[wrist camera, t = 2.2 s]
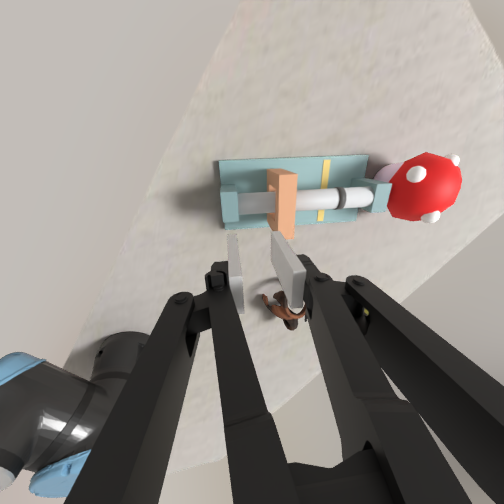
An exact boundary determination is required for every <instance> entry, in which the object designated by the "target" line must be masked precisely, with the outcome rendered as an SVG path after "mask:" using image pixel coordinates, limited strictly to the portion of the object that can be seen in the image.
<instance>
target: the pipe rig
mask: <svg viewBox="0 0 504 504" xmlns="http://www.w3.org/2000/svg"><path fill="white" fill-rule="evenodd" d="M368 156H369V155H345V156H320V157H294V158H268V159H243V160H219V169H220V180H221V189H220V197H221V207H222V217H223V222H224V223H225V230H232V229H246V228H261V227H270V226H269V224H268V222H267V213H275V196H276V191H275V192H267V169H279V168H281V169H284V170H287V171H290V172H293V173H296V174H298V179H297V195H296V211H295V225H305V224H319V223H334V222H348V221H356V218H357V213H358V208H361V209H364V210H366V211H368V212H370V213H376V212H385V211H386V207H387V203H388V199H389V195H390V191H391V187H392V183H388V182H383V181H378V180H373V179H368V178H364V177H365V172H366V167H367V161H368Z"/></svg>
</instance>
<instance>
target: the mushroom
mask: <svg viewBox="0 0 504 504" xmlns="http://www.w3.org/2000/svg"><path fill="white" fill-rule="evenodd" d="M458 163H459V157H458V156H457V155H453V154H450V155H447V156H445V157H441V156H438V155H434V154H431V153H428V152H425V153H423V154H421V155H418V156H416V157H414V158H412V159H409V160H407V161H405V162H402V163H396V164H390V165H387V166H385V167H383V168H382V169H381V170H379V171H378V172H377V174H376V175H375V177H374V178H373V180H378V181H383V182H388V183H392V187H391V191H390V195H389V199H388V203H387V207H388V209H389V211H390V213H391V215H392V217H395V218H400V219H404V220H409V221H419V220H422V221H423V222H425V223H434V222H435V221H437V220H438V219H439V217H440V213H441V212H443V211H444V210H446V209H448V208H449V207H450V206H451V205H453V204H454V202H455V200H456V198H457V195H458V193H459V191H460V188H461V183H462V178H461V172H460V168H459V167H458V166H457V165H458Z"/></svg>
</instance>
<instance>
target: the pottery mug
mask: <svg viewBox="0 0 504 504" xmlns="http://www.w3.org/2000/svg"><path fill="white" fill-rule="evenodd" d="M273 298H275V299H276V300H277V301H278V302H279V303H280V304H281V306H277V305H272V306H269V304H268V298H267V296H265V295H264V294H263V301H264V303H265V305H266V306H267V308H268V309H269V310H270V311H271V312H272V313H273V314H274V315H276V316H277V317H279V318H281V319H283V321H284V324H285V326H286V327H287V329H289V330H294V329H296V328H297V326H298V318H301V317H303V316H304V315H305V311H306V304H305V305H304V307H303V309H302V311H301V312H300V313H298V314H296V313H294V312H292V311H291V310H290V309H289V308H288V304H287V302H288V300H287V298H286V295H285V293H284V291H279V292H278V293H275V294H274V295H273Z"/></svg>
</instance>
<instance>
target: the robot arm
mask: <svg viewBox="0 0 504 504" xmlns="http://www.w3.org/2000/svg"><path fill="white" fill-rule="evenodd" d="M227 240H228V261H222V262H214V264H213V265H212V266H211V271H210V272H208V273H207V274H206V275H205V283H206V289H207V290H206V291H205V292H204V293H202V294H200V295H197V296H194V297H193V295H192V294H191V293H189V292H179V293H177V294H174V295H173V296H171V297H170V298H169V300H168V302H167V304H166V305H165V307H164V309H163V311H162V313H161V315H160V317H159V319H158V321H157V323H156V325H155V327H154V329H153V331H152V333H151V335H150V336H149V335H147V334H143V333H139V332H122V333H118V334H115V335H112V336H110V337H109V338H107V339H106V340H105V341H104V342H103V344H102V345H101V347H100V348H99V350H98V352H97V354H96V357H95V362H94V367H93V372H92V376H91V380H90V382H89V381H87V380H85V379H83V378H81V377H79V376H77V375H74V374H72V373H70V372H68V371H66V370H64V369H62V368H59V367H57V366H55V365H53V364H51V363H49V362H47V361H46V360H45V359H39V358H36V357H34V356H31V355H29V354H26V353H23V352H15V353H11V354H8V355H6V356H4V357H2V358H1V359H0V492H1V491H3V490H4V489H6V488H7V487H9V486H10V485H12V483H13V482H14V480H15V479H16V477H17V476H18V474H19V473H20V471H21V470H22V469H25V470H29V471H32V472H35V474H34V475H33V477H32V478H31V481H30V482H31V483H30V485H29V490H30V492H31V493H35V495H36V496H40V497H48V498H58V497H67V498H66V500H65V502H64V504H158V502H159V498H160V494H161V490H162V486H163V482H164V478H165V474H166V470H167V466H168V462H169V458H170V454H171V450H172V446H173V442H174V438H175V434H176V430H177V425H178V421H179V417H180V413H181V409H182V405H183V401H184V397H185V393H186V389H187V385H188V381H189V377H190V373H191V369H192V365H193V361H194V357H195V353H196V349H197V345H198V341H199V337H200V332H202V331H205V330H208V329H210V328H212V336H213V344H214V351H215V359H216V367H217V375H218V383H219V390H220V398H221V406H222V414H223V422H224V432H225V441H226V449H227V456H228V464H229V472H230V480H231V488H232V496H233V504H472V502H471V501H470V499H469V498H468V496H467V494H466V492H465V491H464V489H463V487H462V486H461V484H460V482H459V481H458V479H457V477H456V476H455V474H454V472H453V471H452V469H451V467H450V466H449V464H448V462H447V461H446V459H445V457H444V456H443V454H442V452H441V450H440V449H439V447H438V446H437V444H436V442H435V440H434V439H433V437H432V435H431V434H430V432H429V430H428V429H427V427H426V425H425V424H424V422H423V420H422V419H421V417H422V418H423V419H424V420H425V422H426V423H427V424H428V425H429V427H430V428H431V429H432V430H433V431H434V433H435V434H436V435H437V436H438V438H439V439H440V440H441V441H442V442H443V444H444V445H445V446H446V447H447V449H448V450H449V451H450V452H451V453H452V455H453V456H454V457H455V458H456V460H457V461H458V462H459V463H460V464H461V466H462V467H463V468H464V469H465V470H466V472H467V473H468V474H469V475H470V476H471V477H472V478H473V480H474V481H475V482H476V483H477V484H478V485H479V487H480V488H481V489H482V490H483V491H484V492H485V493H486V494H487V495H488V496H489V497H490V498H491V499H492V500H493V501H494V502H495V503H496V504H504V386H503V385H501V384H500V383H499V382H498V381H496V380H495V379H494V378H493V377H491V376H490V375H489V374H487V373H486V372H485V371H484V370H482V369H481V368H480V367H479V366H477V365H476V364H475V363H473V362H472V361H471V360H469V359H468V358H467V357H466V356H465V355H463V354H462V353H461V352H459V351H458V350H457V349H456V348H454V347H453V346H452V345H451V344H449V343H448V342H447V341H445V340H444V339H443V338H442V337H440V336H439V335H438V334H437V333H435V332H434V331H433V330H431V329H430V328H429V327H428V326H426V325H425V324H424V323H422V322H421V321H420V320H419V319H418V318H416V317H415V316H414V315H412V314H411V313H410V312H409V311H407V310H406V309H405V308H404V307H402V306H401V305H400V304H398V303H397V302H396V301H395V300H393V299H392V298H391V297H390V296H388V295H387V294H386V293H384V292H383V291H382V290H381V289H379V288H378V287H377V286H376V285H374V284H373V283H372V282H370V281H369V280H368V279H366V278H364V277H361V276H357V275H354V276H348V277H347V278H346V282H339V281H333V280H332V278H331V277H330V276H329V275H327V274H325V273H321V272H320V271H319V270H318V269H317V267H316V266H315V265H314V263H313V262H312V261H311V260H310V258H309V257H307V256H306V255H304V254H302V255H296V254H295V253H294V251H293V250H292V248H291V247H290V245H289V244H288V242H287V241H286V239H285V238H284V236H283V235H282V233H281V232H280V231H271V262H272V264H273V266H274V269H275V271H276V274H277V276H278V278H279V281H280V283H281V286H282V288H283V290H284V293H285V295H286V298H287V300H288V303H289V305H290V307H291V309H293V308H303V300H304V302H305V304H306V311H305V322H306V321H307V319H308V322H309V326H310V330H311V333H312V337H313V340H314V344H315V348H316V351H317V355H318V358H319V362H320V365H321V369H322V373H323V376H324V380H325V383H326V387H327V391H328V394H329V398H330V401H331V405H332V409H333V412H334V415H335V419H336V423H337V426H338V430H339V434H340V438H341V444H342V457H343V462H341V463H340V464H338V465H336V466H335V467H333V468H324V467H319V466H313V465H308V464H302V463H296V462H295V463H287V460H286V457H285V454H284V451H283V447H282V444H281V441H280V438H279V435H278V432H277V429H276V425H275V422H274V420H273V417H272V415H271V413H270V412H268V410H267V407H266V404H265V401H264V397H263V394H262V391H261V388H260V384H259V381H258V378H257V374H256V371H255V368H254V364H253V361H252V358H251V355H250V351H249V348H248V345H247V341H246V338H245V335H244V331H243V328H242V325H241V321H240V318H239V315H238V314H244V297H243V281H242V271H241V264H240V256H239V249H238V242H237V234H227ZM365 309H366V310H367V311H368V312H369V314H368V315H367V314H366V313H365V312H364V310H365ZM381 368H382V369H383V370H384V372H385V373H386V374H387V375H388V376H389V378H390V379H391V380H392V381H393V383H394V384H395V385H396V386H397V387H398V389H399V390H400V391H401V392H402V393H403V395H404V396H405V397H406V398H407V400H408V401H409V402H410V403H409V402H408V401H406V400H401V399H399V398H398V397H397V395H396V394H395V392H394V390H393V389H392V387H391V385H390V383H389V382H388V380H387V378H386V376H385V374H384V372H383V371H382V369H381ZM418 413H419V414H420V415H419V414H418ZM420 416H421V417H420Z"/></svg>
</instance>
